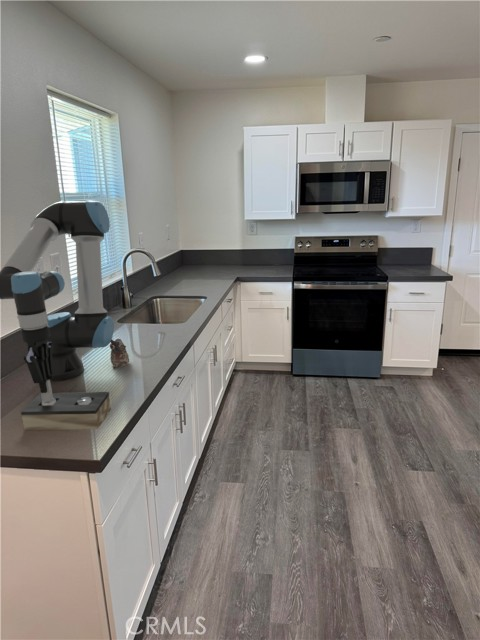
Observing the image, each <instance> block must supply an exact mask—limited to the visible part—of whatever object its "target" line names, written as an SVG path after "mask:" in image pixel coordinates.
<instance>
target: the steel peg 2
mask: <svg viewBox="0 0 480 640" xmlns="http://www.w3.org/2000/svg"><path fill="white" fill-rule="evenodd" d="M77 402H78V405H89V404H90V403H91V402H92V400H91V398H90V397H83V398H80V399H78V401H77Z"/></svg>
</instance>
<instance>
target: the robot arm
mask: <svg viewBox="0 0 480 640" xmlns="http://www.w3.org/2000/svg"><path fill="white" fill-rule="evenodd" d="M110 227H111V226H110V218H109V215H108V211H107V209H106V207H105V205H104V204H103V203H102V202H101V201H98V200H90V199H89V200H74V201H73V200H70V201H58V202H54V203H52V204H51V205H49V206H47V207H46V208H44V209H42V210H41V211H40V212H39V213H37V215H36V216H35V217H34V218H33V220H32V221H31V223H30V230H29V231H28V232H27V234H25V236H24V238H23V239H22V241H21V242H20V243H19V245H18V246H17V248H16V249H15V250H14V251H13V253H12V254H11V256H10V257H9V258H8V260H7V261H6V262H5V264H4V265H3V266H2V269H1V270H0V300H14V304H15V310H16V314H17V320H18V324H19V327H20V330H19V331H20V336H21V340H22V341H23V343H26V344H27V351H28V353H27V355H24V356H23V360H24V362H25V363H26V365H27V368H28V370H29V373H30V376H31V379H32V382H33V383H34V384H39V391H40V393H41V397H42V402H51V401H52V400H53V394H52V393H53V388H52V384H51V383H52V382H51V381H62V380H63V381H64V380H68V379H71V378H75V377H76V376H79V375H81V374H82V373H83V372H84V370H85V366H84V363H83V361H82V358H81V357H80V355H79V353H78V351H77V348H78V349H87V348H88V349H89V348H90V349H92V348H93V349H97V348H105V347H107V346H109V345H110V344H111V339H112V340H113V336H114V330H115V323H114V318H112V316H109V315H108V310H107V309H106V308H104V300H103V299H104V298H103V276H102V275H103V273H102V254H101V243H102V242H103V240H105V234H107V233H108V232H110V231H109V230H110ZM67 234H68V235H70V238H71V240H73V242H74V243H75V255H76V257H75V258H76V273H77V274H76V277H77V278H76V279H77V299H78V308H77V309H76V310H75V311H74V316H72V314H71V313H70V312H68V311H64V312H57V313H52V314H49V315H48V313H47V309H46V303H45V301H47V300H49V299H51V298H53V297H56V296H58V295H59V294H60V293H62V292H63V290H64V288H65V285H66V284H65V279H64V278H63V276H62V274H60V273H59V272H58V271H56V270H55V271H54V270H50V271H44V272H40V273H39V272H37V271H33V270H34V268H35V267H36V266H37V264H38V263H39V261H40V260H41V258H42V256H43V254H45V251H46V250H47V249H48V247H49V245H50V244H51V242H53V241H54V242H55V240H57V238H59V236H61V235H67Z"/></svg>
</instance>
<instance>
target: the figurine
mask: <svg viewBox="0 0 480 640" xmlns="http://www.w3.org/2000/svg"><path fill="white" fill-rule="evenodd" d="M109 348H110V350H111V351H110V358H109V359H110V363H111V364H112V365H111V366H113V367H116V368H121V367H124V366H128V364H129V363H130V358H129V354H128V352H127V349H126V348H127V345H125V344H124V342H123V341H122V339H121V338H116V339H115V340H113V338H112V339H111V342H110V343H109Z"/></svg>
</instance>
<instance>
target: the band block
mask: <svg viewBox="0 0 480 640" xmlns="http://www.w3.org/2000/svg"><path fill="white" fill-rule="evenodd" d="M52 394H53V398H55V399H56V403H55V404H54V405H45V406H42V397H41V392H40V393H39V394H38V395H37V396H36V397H35V398H34V399H33V400H31V402H30V403H29V404H27V406H25V407H24V408H23V409H22V410H21V411H20V415H21V420H22V423H23V425H22V426H23V429H24V431H49V430H50V431H51V430H52V431H57V430H58V431H59V430H60V431H61V430H66V431H67V430H99V429H100V427H101V425H102V423H103V422H104V421H105V419H106V418H107V416H108V415H109V413H110V411H111V410H112V405H111V404H112V403H111V397H110V391H97V392H96V391H93V392H91V391H89V392H87V391H86V392H85V391H84V392H80V391H79V392H52ZM83 397H90V398H91V400H92V402H91V403H90V404H89V405H78V402H77V401H78V399H80V398H83Z"/></svg>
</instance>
